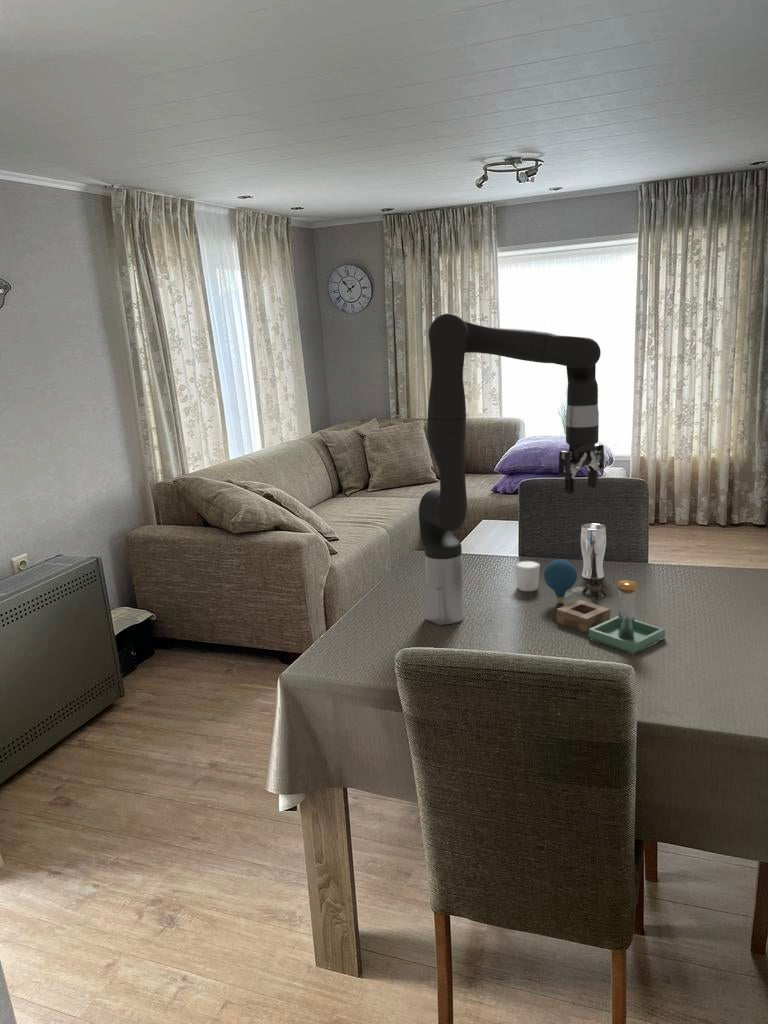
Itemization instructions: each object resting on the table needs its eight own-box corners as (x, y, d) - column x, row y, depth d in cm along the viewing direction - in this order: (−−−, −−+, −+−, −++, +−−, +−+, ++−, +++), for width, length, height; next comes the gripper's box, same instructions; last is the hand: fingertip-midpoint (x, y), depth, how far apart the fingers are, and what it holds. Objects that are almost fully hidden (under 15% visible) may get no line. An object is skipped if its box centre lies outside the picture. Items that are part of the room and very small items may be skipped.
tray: (633, 655, 159) (634, 644, 159) (588, 638, 169) (588, 629, 168) (664, 639, 166) (665, 629, 166) (619, 624, 176) (620, 614, 175)
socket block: (586, 632, 172) (586, 619, 171) (556, 622, 179) (556, 609, 178) (609, 622, 177) (610, 608, 176) (579, 612, 184) (579, 599, 183)
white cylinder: (542, 591, 200) (542, 567, 199) (517, 592, 200) (517, 568, 199) (537, 583, 207) (537, 559, 205) (513, 584, 207) (513, 560, 205)
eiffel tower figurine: (627, 593, 197) (628, 546, 193) (619, 606, 188) (620, 557, 185) (572, 586, 204) (572, 541, 201) (562, 599, 195) (562, 551, 192)
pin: (628, 642, 164) (630, 588, 161) (612, 636, 168) (613, 583, 165) (640, 636, 167) (641, 583, 164) (623, 631, 170) (625, 579, 167)
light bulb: (553, 611, 186) (553, 566, 183) (538, 600, 194) (538, 557, 191) (582, 606, 188) (583, 562, 185) (566, 595, 196) (566, 553, 193)
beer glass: (579, 579, 208) (580, 529, 204) (580, 571, 214) (581, 522, 210) (605, 580, 206) (606, 529, 202) (605, 572, 212) (606, 523, 208)
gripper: (575, 428, 165) (575, 497, 169) (613, 421, 173) (612, 487, 177) (549, 426, 171) (550, 493, 175) (588, 419, 179) (587, 483, 183)
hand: (581, 490), depth 176 cm, fingers open, 8 cm apart
